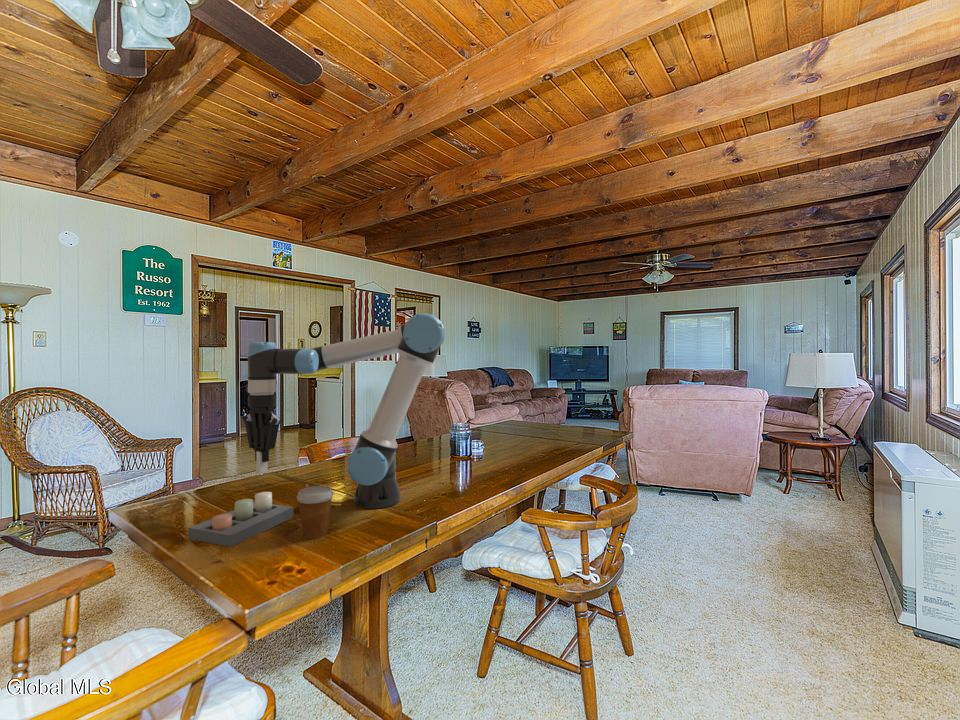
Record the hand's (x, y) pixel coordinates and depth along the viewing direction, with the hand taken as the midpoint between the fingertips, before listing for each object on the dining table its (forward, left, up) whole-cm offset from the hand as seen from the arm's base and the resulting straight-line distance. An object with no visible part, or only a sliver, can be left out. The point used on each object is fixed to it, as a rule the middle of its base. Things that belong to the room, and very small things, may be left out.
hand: (262, 472), depth 134 cm
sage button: (0, +7, -12) cm, 13 cm away
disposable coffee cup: (-23, +4, -14) cm, 27 cm away
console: (0, +7, -14) cm, 16 cm away
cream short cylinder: (0, 0, -12) cm, 12 cm away
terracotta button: (0, +14, -13) cm, 19 cm away
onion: (-7, -11, -14) cm, 19 cm away
